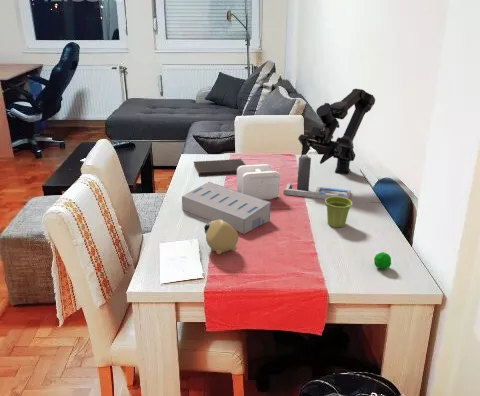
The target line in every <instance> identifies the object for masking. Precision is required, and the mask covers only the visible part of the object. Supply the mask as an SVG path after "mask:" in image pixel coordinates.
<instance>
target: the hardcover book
mask: <svg viewBox="0 0 480 396" xmlns="http://www.w3.org/2000/svg"><path fill="white" fill-rule="evenodd" d="M243 165H246V163H245V162H244V161H243V160H242V158H238V159H236V158H235V159H234V158H233V159H218V160H201V161H199V160H196V161H193V166H194V168H195V170H196V172H197V174H198V177H209V176H213V177H214V176H226V175H237V168H238V167H239V166H243Z"/></svg>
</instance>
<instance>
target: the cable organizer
mask: <svg viewBox="0 0 480 396" xmlns="http://www.w3.org/2000/svg"><path fill="white" fill-rule="evenodd" d="M280 183H281V174H280V173H279V172H278V171H277V170H273V169H272V166H271V165H270V164H267V163H266V164H265V163H264V164H248V165H247V164H245V165H243V166H239V167H238V168H237V174H236V191H238V192H241V193H244V194H247V195H250V196H253V197H256V198H259V199H262V200H265V201H268V200H272V199H275V198H278V197H279V195H280V185H281V184H280Z"/></svg>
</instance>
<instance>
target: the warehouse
mask: <svg viewBox="0 0 480 396" xmlns="http://www.w3.org/2000/svg"><path fill="white" fill-rule="evenodd" d="M271 202H272V201H268V200H264V199H259V198H256V197H253V196H250V195H247V194H244V193H242V192H239V191H238V190H235V189H233V188H230V187H227V186H223V185H221V184H220V185H219V184H217V183H214V182H211V181H208V182H206V183H204V184H202V185H200V186H198V187H197V188H195V189H194V190H191V191H190V192H189V191H188V192H187V193H186V194H184V195H182V196H181V208H182V209H181V210H182V211H186V212H188V213H190V214H193V215H196V216H198V217H200V218H203V219H205V220H208V221H211V222H212V221H215V220H218V219H220V220H223V221H225V222H227V223H228V224H229V225H230V226H232V227H233V228H234V229H235V230H236V232H237V233H238V232H240V233H241V234H243V235H244V234H245V233H248V232H250V231H252V230H254V229H255V228H257V227H259V226H262V225H263V224H265V223H268V222H270V220H271Z"/></svg>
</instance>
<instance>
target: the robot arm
mask: <svg viewBox="0 0 480 396" xmlns="http://www.w3.org/2000/svg"><path fill="white" fill-rule="evenodd" d="M375 103H376V98H375V97H374V95H373V94H371V93H369V92H367V91H365V89H363V88H353V89H352V91H351V92H350V93H348V94H347V95H345V96H344V98H342V100H340V101H335V102H333V103H331V104H330V103H328V102H325V103H324V104H322V105H319V107H317V108H316V110H315V113H316V115H317V118H318V119H319V121H320V122H321V124H322V125H321V127H320V126H319V127H317V126H311V129H310V131H309V135H308V134H302V133H301V134H300V135H299V136H298V138H297V139H298V141H299V142H300V144H301V156H300V157H302V155H308V153H309V151H310V150H311V148H310V147H312V146H317V147H320V148H321V147H323V148H325V151H324V153H323V155H322V157H321V158H320V160H319V164H320V165H322V164H324V163H325V162H326V161H328V160H330V159H331V158H333V159H337V160H336V161H337V162H336V167H335V170H334V173H336V174H347V175H350V172H351V168H350V163H351V162H354V160H355V159H356V154H355V151H354V143H353V142H354V139H355V137H356V135H357V133H358V129H359V128H360V126H361V123H362V121H363V119H364V117H365V114H367V113H368V112H370V111H371V110H372V108H373V106H374V105H375ZM353 106H354V111H353V113H352V116H351V118H350V120H349V121H348V124H347V127H346V129H345V130H344V133H343V134H342V136H341V137H339V136H338V137H337V138H336V140H333V138H334V133H335V131H336V130H337V128H338V129H339V128H340V123H339V121H338V120H344V119H345V118H346V117H347V116H348V111H349V110H350V109H351V108H352V107H353ZM310 135H312V138H313V139H312V138H311V137H310Z"/></svg>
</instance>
